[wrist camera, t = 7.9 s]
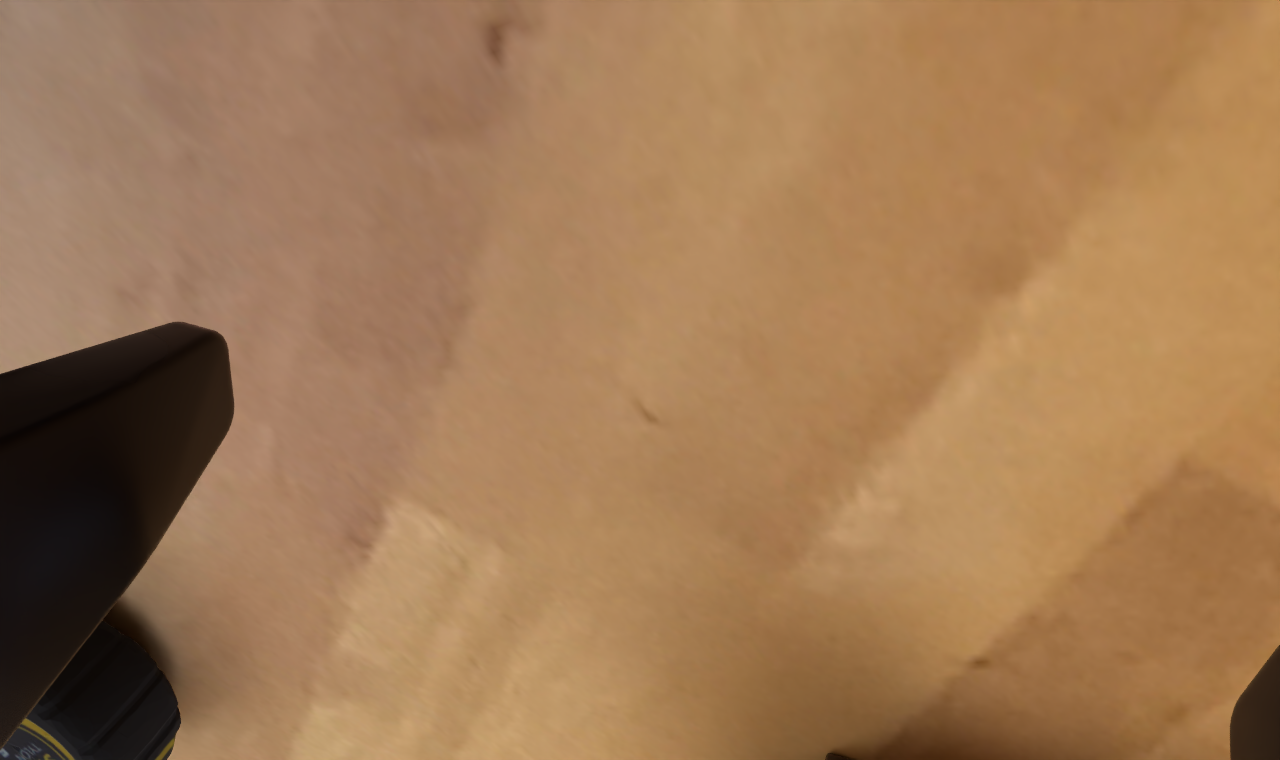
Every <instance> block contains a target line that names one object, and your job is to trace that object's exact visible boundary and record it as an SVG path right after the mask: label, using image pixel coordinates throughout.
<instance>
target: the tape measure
mask: <svg viewBox="0 0 1280 760" xmlns="http://www.w3.org/2000/svg"><path fill="white" fill-rule="evenodd" d="M177 705H178V702H177V698H176V696H175V694H174V692H173V689H172V687H171V685H170V683H169V681H168V680H167V678H166V677H165V675H164V674H163V672H162V671H161V670H160V669H159V668H158V667H157V665H156V662H155V661H154V660H153V659H152V658H151V657H150V656H149V654H148V653H147V652H146V651H145V650H144V649H143V648H142V647H141V646H140V645H139V644H138V643H136V642H135V641H134V640H133V639H131V638H130V637H128V636H125V635H123V634H120V632H119V631H118V630H117V629H115V628H114V627H112V626H110V625H109V624H107V623H105V622H104V621H101V622H100V624H99V625H98V626H97V628H96V629H95V630H94V631H93V633H92V634H91V635H90V637H89V638H88V639H87V640H86V642H85V643H84V644H83V645H82V647H81V648H80V649H79V651H78V652H77V653H76V654H75V656H74V657H73V658H72V659H71V661H70V662H69V663H68V665H67V666H66V667H65V668H64V670H63V671H62V672H61V674H60V675H59V676H58V677H57V679H56V680H55V681H54V682H53V684H52V685H51V686H50V688H49V689H48V690H47V691H46V693H45V694H44V695H43V696H42V698H41V699H40V700H39V702H38V703H37V704H36V705H35V707H34V708H33V709H32V711H31V712H30V713H29V714H28V716H27V717H26V718H25V719H24V721H23V722H22V723H21V725H20V726H19V727H18V728H17V730H16V731H15V732H14V733H13V735H12V736H11V737H10V739H9V740H8V741H7V742H6V744H5V745H4V746H3V747H2V749H1V750H0V760H167V758H168V757H169V756H170V754H171V752H172V749H173V746H174V741H175V735H176V732H177V730H178V729H179V727H180V724H181V718H180V712H179V709H178V707H177Z"/></svg>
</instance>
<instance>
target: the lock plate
mask: <svg viewBox="0 0 1280 760" xmlns="http://www.w3.org/2000/svg"><path fill="white" fill-rule="evenodd" d="M825 760H850V759H847V758H844V757H840V756H837V755H834V754H831V753H828V754H827V756H826V759H825Z"/></svg>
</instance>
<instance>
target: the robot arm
mask: <svg viewBox="0 0 1280 760" xmlns="http://www.w3.org/2000/svg"><path fill="white" fill-rule="evenodd" d="M233 415H234V398H233V389H232V380H231V371H230V362H229V353H228V347H227V343H226V341H225V339H224V337H223V336H222V335H221V334H219V333H218V332H216V331H214V330H210V329H207V328H203V327H199V326H196V325H192V324H189V323H185V322H172V323H168V324H165V325H162V326H158V327H155V328H152V329H148V330H145V331H142V332H138V333H135V334H132V335H128V336H125V337H122V338H118V339H115V340H112V341H108V342H105V343H102V344H98V345H95V346H92V347H88V348H85V349H82V350H79V351H75V352H72V353H69V354H65V355H62V356H59V357H55V358H52V359H49V360H45V361H42V362H39V363H35V364H32V365H29V366H25V367H22V368H19V369H15V370H12V371H9V372H5V373H2V374H0V750H1V749H2V747H3V746H4V745H5V744H6V742H7V741H8V740H9V739H10V737H11V736H12V735H13V733H14V732H15V731H16V730H17V728H18V727H19V726H20V725H21V723H22V722H23V721H24V719H25V718H26V717H27V716H28V714H29V713H30V712H31V711H32V709H33V708H34V707H35V705H36V704H37V703H38V702H39V700H40V699H41V698H42V696H43V695H44V694H45V693H46V691H47V690H48V689H49V688H50V686H51V685H52V684H53V682H54V681H55V680H56V679H57V677H58V676H59V675H60V674H61V672H62V671H63V670H64V668H65V667H66V666H67V665H68V663H69V662H70V661H71V659H72V658H73V657H74V656H75V654H76V653H77V652H78V651H79V649H80V648H81V647H82V645H83V644H84V643H85V642H86V640H87V639H88V638H89V637H90V635H91V634H92V633H93V631H94V630H95V629H96V628H97V626H98V625H99V624H100V622H101V621H102V620H103V619H104V617H105V616H106V615H107V614H108V612H109V611H110V610H111V608H112V607H113V606H114V605H115V603H116V602H117V601H118V600H119V598H120V597H121V596H122V594H123V593H124V592H125V591H126V589H127V588H128V587H129V585H130V584H131V583H132V581H133V580H134V579H135V577H136V576H137V575H138V573H139V572H140V571H141V569H142V568H143V566H144V565H145V563H146V562H147V560H148V559H149V557H150V556H151V554H152V553H153V552H154V550H155V549H156V547H157V546H158V544H159V542H160V541H161V539H162V537H163V536H164V534H165V533H166V531H167V529H168V528H169V526H170V525H171V523H172V521H173V520H174V518H175V517H176V515H177V513H178V512H179V510H180V508H181V507H182V505H183V504H184V502H185V500H186V499H187V497H188V496H189V494H190V492H191V491H192V489H193V488H194V486H195V484H196V483H197V481H198V480H199V478H200V476H201V475H202V473H203V471H204V470H205V468H206V467H207V465H208V463H209V462H210V460H211V459H212V457H213V455H214V454H215V452H216V451H217V449H218V447H219V446H220V444H221V442H222V441H223V439H224V438H225V436H226V434H227V432H228V430H229V428H230V426H231V423H232V419H233ZM1230 756H1231V760H1280V645H1279V646H1278V647H1277V649H1276V650H1275V651H1274V653H1273V654H1272V655H1271V656H1270V658H1269V659H1268V660H1267V662H1266V663H1265V664H1264V666H1263V667H1262V668H1261V670H1260V671H1259V672H1258V674H1257V675H1256V676H1255V678H1254V679H1253V680H1252V681H1251V683H1250V684H1249V685H1248V687H1247V688H1246V689H1245V691H1244V692H1243V693H1242V695H1241V696H1240V698H1239V699H1238V701H1237V703H1236V705H1235V707H1234V710H1233V713H1232V717H1231V724H1230Z"/></svg>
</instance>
